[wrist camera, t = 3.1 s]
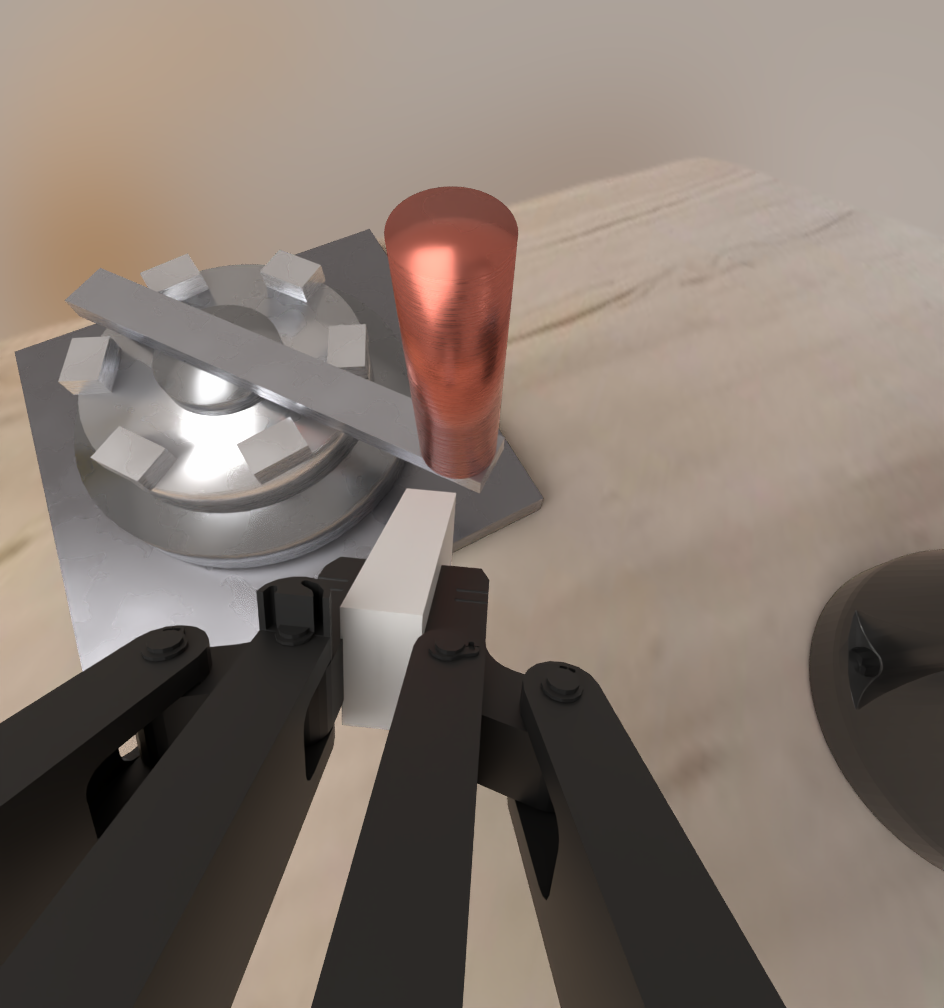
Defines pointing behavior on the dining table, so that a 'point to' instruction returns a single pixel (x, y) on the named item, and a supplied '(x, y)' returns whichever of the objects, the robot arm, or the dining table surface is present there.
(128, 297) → the red grip crank lever
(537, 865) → the robot arm
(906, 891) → the dining table surface
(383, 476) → the grey crank base
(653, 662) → the dining table surface
